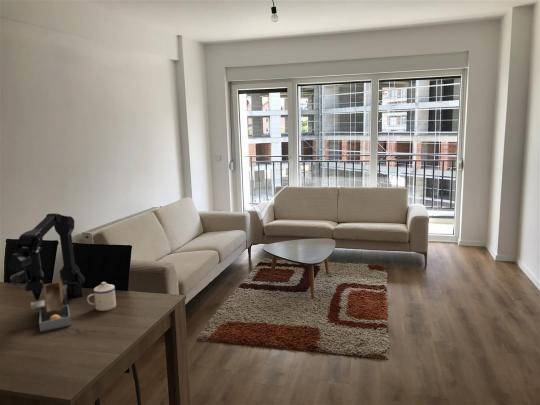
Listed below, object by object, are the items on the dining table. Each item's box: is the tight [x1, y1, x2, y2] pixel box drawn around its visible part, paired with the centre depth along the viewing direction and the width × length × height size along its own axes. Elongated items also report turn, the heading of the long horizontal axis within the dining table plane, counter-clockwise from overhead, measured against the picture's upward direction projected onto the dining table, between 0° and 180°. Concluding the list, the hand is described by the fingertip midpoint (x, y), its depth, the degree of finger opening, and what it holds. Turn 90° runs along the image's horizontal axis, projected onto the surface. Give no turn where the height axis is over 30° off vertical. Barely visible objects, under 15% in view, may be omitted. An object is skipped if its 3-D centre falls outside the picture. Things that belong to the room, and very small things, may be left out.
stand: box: [39, 293, 68, 310], centre depth 187 cm, size 11×5×7 cm, turn 117°
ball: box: [50, 314, 60, 320], centre depth 174 cm, size 4×4×4 cm
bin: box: [38, 304, 72, 333], centre depth 177 cm, size 11×14×4 cm
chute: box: [30, 281, 65, 313], centre depth 185 cm, size 12×18×6 cm
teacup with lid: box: [86, 281, 117, 312], centre depth 189 cm, size 12×9×12 cm
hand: (37, 299), depth 177 cm, fingers closed
